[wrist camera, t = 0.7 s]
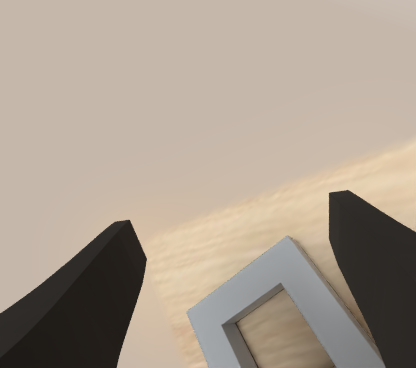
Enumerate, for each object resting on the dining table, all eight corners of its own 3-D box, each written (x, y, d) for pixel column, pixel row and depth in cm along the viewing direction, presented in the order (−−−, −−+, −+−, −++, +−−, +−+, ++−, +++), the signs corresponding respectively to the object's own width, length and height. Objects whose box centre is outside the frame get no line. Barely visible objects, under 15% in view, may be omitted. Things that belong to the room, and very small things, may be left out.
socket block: (404, 383, 17) (406, 394, 15) (267, 459, 20) (253, 476, 18) (296, 240, 24) (287, 235, 22) (201, 311, 26) (186, 312, 24)
